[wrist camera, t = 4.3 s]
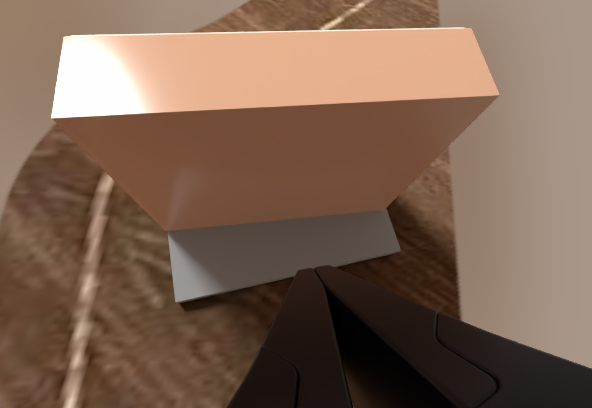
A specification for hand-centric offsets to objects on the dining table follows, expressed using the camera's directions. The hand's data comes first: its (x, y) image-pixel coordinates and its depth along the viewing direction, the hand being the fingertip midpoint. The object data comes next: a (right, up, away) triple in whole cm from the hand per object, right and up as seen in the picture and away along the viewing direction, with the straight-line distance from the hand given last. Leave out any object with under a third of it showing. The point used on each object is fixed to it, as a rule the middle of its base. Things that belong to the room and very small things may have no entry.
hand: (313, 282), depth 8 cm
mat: (-2, +3, +9) cm, 10 cm away
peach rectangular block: (-1, +2, +8) cm, 9 cm away
